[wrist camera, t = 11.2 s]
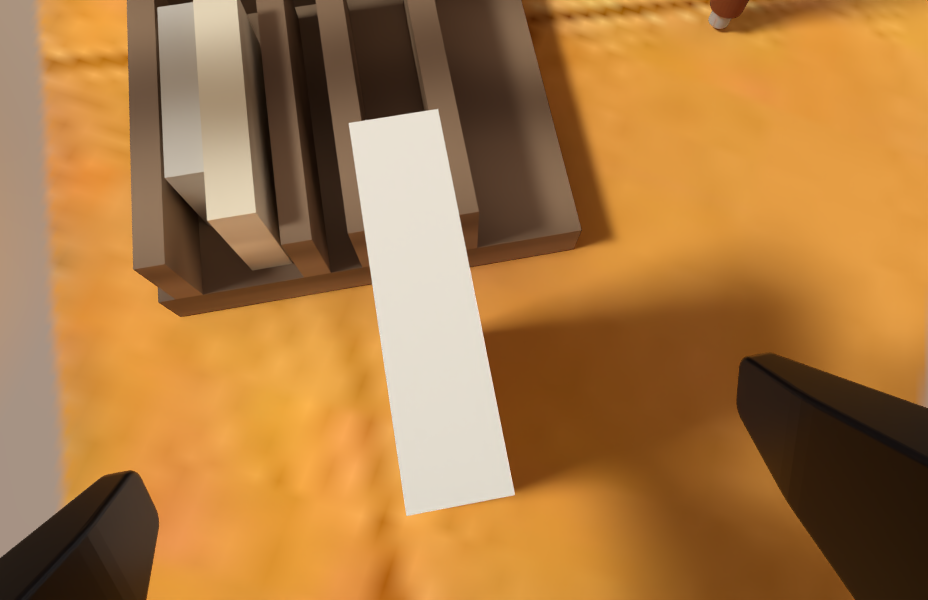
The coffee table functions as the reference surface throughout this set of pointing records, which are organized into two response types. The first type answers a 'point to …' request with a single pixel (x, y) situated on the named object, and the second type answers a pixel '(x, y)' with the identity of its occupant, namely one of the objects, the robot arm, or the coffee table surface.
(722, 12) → the magnifying glass
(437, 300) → the white flat board
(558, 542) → the coffee table surface
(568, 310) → the coffee table surface
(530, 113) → the offcut rack
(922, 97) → the coffee table surface
